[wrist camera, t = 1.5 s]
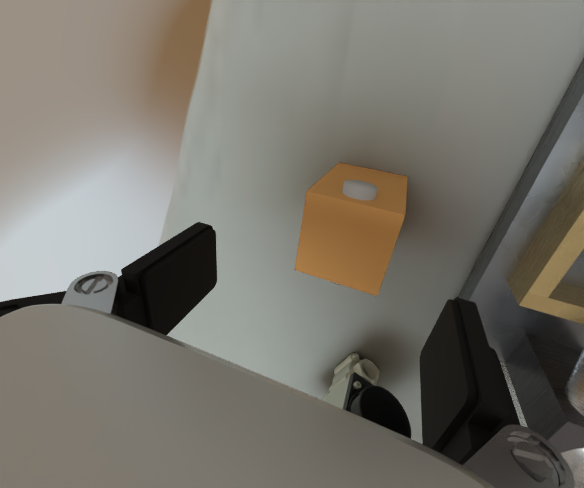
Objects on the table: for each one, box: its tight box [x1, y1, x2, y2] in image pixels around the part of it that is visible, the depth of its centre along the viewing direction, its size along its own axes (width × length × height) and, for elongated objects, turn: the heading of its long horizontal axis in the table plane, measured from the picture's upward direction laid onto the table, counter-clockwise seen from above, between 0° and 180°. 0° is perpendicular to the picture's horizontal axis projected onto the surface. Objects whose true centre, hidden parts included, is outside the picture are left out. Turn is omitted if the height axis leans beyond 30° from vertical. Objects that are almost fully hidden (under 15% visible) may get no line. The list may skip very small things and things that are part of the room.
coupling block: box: [295, 163, 408, 296], centre depth 19 cm, size 6×5×8 cm
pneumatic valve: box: [321, 353, 411, 439], centre depth 25 cm, size 6×12×12 cm, turn 152°
